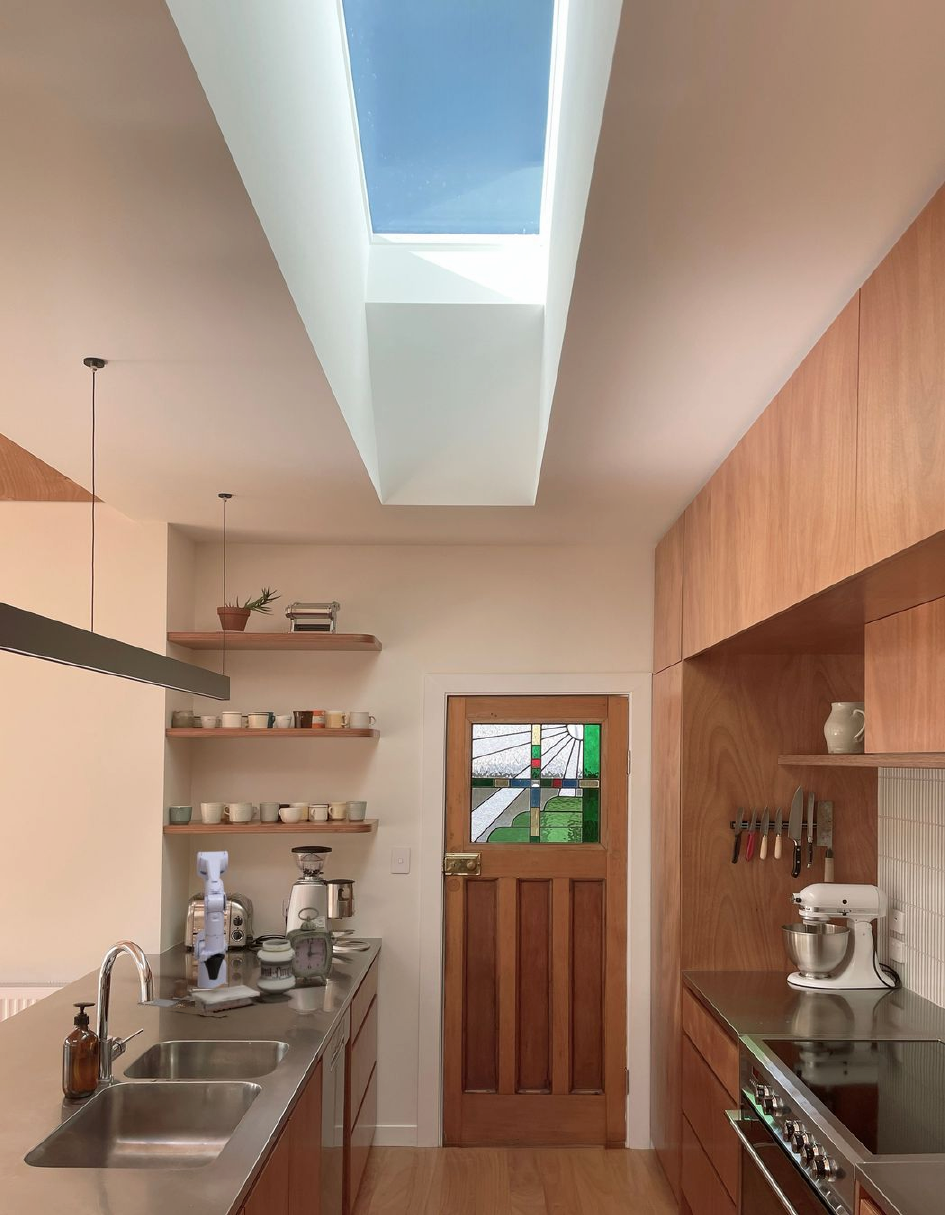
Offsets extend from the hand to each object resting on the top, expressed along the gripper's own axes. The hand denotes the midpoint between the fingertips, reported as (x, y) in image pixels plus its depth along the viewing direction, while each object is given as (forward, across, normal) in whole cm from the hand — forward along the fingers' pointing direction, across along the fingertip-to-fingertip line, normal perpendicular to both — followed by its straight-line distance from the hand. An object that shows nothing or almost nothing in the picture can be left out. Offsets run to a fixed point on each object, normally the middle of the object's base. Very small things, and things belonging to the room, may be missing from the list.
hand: (213, 979), depth 327 cm
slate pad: (+8, +2, -17) cm, 19 cm away
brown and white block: (+8, -4, -10) cm, 14 cm away
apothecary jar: (+8, -10, +16) cm, 21 cm away
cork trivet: (+8, +6, -1) cm, 10 cm away
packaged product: (+5, -1, +1) cm, 5 cm away
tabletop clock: (+8, -30, +18) cm, 36 cm away
